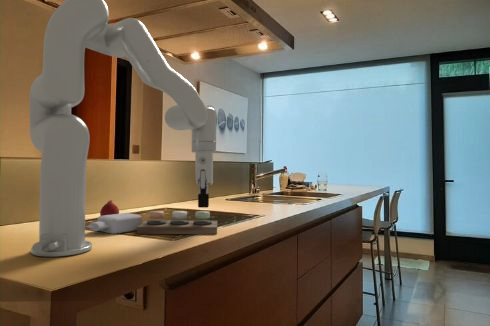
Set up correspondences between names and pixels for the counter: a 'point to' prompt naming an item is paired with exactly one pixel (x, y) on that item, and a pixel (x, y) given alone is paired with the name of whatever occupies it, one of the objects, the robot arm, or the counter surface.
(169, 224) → the button board
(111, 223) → the white bottle
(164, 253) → the counter surface
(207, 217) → the sage button
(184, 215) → the grey button
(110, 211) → the onion
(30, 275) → the counter surface
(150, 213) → the terracotta button
